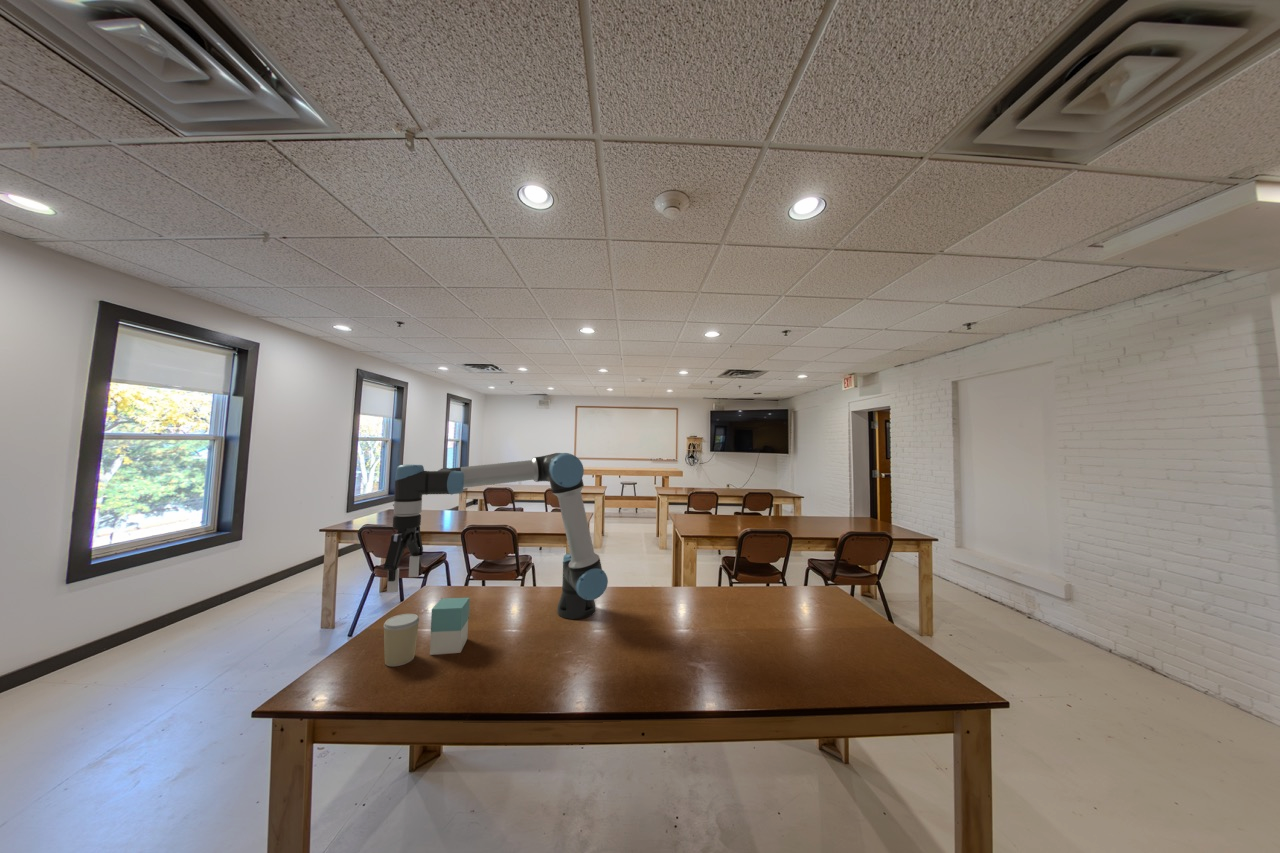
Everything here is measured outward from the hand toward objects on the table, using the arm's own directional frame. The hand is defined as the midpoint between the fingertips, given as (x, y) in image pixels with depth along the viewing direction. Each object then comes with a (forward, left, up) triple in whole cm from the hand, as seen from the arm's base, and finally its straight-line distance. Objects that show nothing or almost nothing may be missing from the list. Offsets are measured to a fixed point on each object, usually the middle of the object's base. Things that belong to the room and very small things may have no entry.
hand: (403, 583), depth 122 cm
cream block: (-12, -7, -23) cm, 27 cm away
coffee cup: (0, 0, -23) cm, 23 cm away
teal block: (-12, -7, -16) cm, 21 cm away
